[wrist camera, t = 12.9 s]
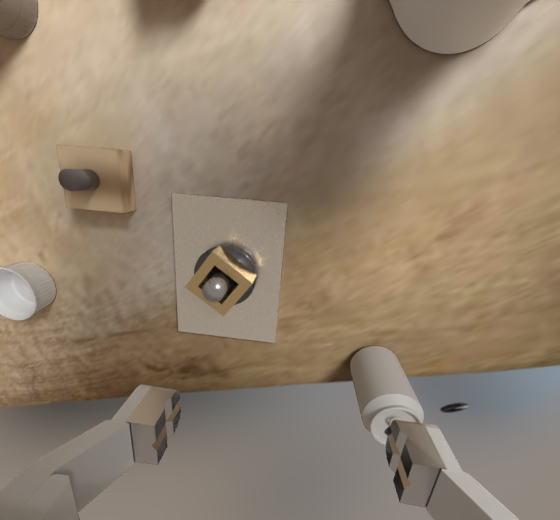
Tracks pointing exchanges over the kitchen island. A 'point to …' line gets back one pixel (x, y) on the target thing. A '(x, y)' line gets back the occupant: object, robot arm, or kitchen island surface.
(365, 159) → the kitchen island surface
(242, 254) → the stone base with peg
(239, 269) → the tan square hollow frame
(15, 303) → the ramekin
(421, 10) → the robot arm
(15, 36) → the thermos bottle
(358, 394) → the can
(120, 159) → the stand
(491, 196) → the kitchen island surface
